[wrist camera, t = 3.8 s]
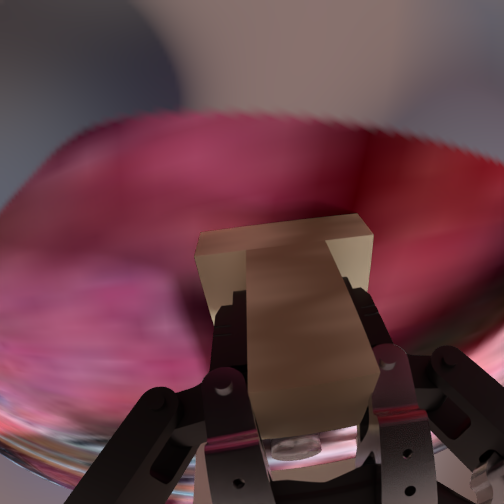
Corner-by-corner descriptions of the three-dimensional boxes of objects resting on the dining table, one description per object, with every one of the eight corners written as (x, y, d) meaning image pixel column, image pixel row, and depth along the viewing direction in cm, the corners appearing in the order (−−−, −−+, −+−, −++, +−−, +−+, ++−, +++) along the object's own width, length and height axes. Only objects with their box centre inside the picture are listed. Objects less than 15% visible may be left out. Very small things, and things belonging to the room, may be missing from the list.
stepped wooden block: (357, 213, 12) (450, 351, 6) (334, 404, 21) (351, 489, 14) (200, 232, 13) (162, 394, 6) (251, 414, 22) (253, 502, 15)
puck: (320, 424, 24) (323, 442, 22) (317, 441, 27) (320, 456, 25) (268, 431, 24) (269, 449, 22) (272, 447, 27) (273, 462, 25)
